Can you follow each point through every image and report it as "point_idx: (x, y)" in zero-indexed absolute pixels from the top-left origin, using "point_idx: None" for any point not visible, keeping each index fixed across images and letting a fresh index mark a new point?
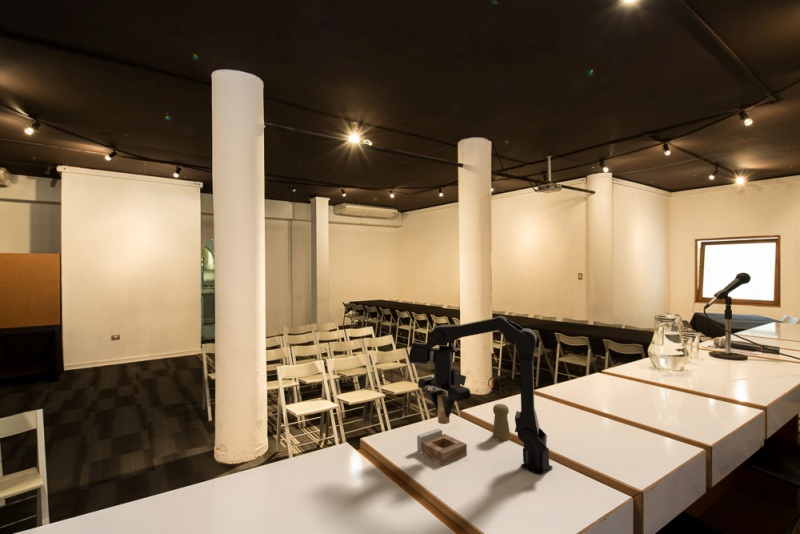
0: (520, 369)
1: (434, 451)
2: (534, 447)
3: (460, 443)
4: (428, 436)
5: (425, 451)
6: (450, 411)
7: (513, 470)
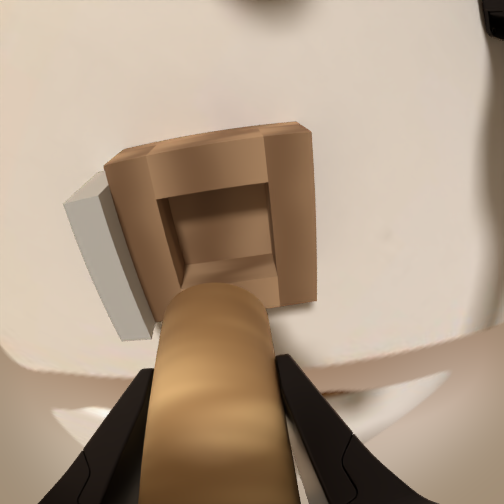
0: None
1: None
2: None
3: (281, 157)
4: (136, 293)
5: None
6: (320, 400)
7: (487, 74)
